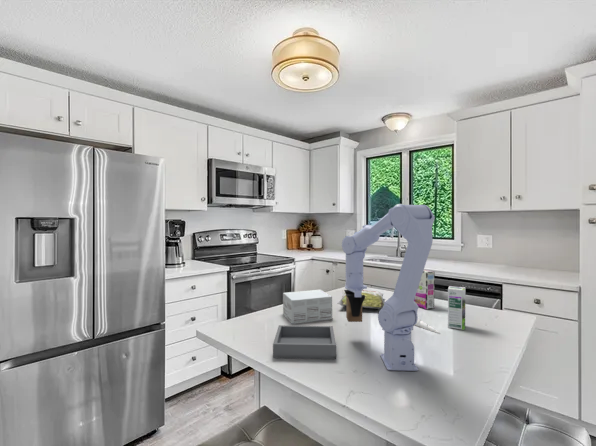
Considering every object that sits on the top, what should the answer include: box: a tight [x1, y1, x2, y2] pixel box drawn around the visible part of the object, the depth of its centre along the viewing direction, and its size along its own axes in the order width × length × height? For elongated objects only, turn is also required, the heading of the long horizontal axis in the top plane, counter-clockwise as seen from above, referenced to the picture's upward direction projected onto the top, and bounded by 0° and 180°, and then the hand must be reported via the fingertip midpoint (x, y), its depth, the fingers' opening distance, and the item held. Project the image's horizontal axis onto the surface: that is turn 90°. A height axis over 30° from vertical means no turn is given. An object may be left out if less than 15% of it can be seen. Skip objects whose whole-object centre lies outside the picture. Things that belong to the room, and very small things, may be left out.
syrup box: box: [447, 285, 466, 331], centre depth 120 cm, size 6×6×14 cm
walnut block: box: [345, 297, 363, 323], centre depth 108 cm, size 4×4×7 cm
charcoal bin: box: [272, 324, 337, 360], centre depth 102 cm, size 16×18×4 cm
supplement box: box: [282, 288, 333, 325], centre depth 132 cm, size 17×13×9 cm
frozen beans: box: [337, 289, 385, 310], centre depth 150 cm, size 21×6×25 cm
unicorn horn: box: [414, 318, 441, 335], centre depth 123 cm, size 5×24×5 cm, turn 23°
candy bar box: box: [414, 269, 436, 310], centre depth 147 cm, size 11×5×16 cm, turn 25°
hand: (354, 313), depth 108 cm, fingers closed on walnut block, 4 cm apart
